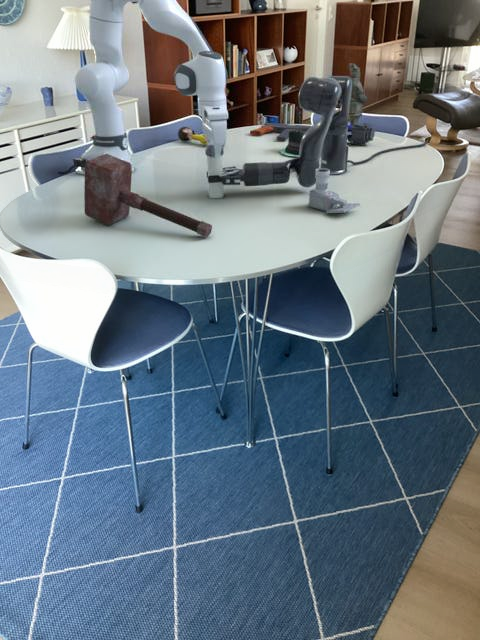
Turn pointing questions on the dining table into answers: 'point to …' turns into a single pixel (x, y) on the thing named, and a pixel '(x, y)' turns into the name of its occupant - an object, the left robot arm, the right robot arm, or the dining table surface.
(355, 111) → the statue
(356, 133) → the toy
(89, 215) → the sledgehammer
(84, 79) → the left robot arm
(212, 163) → the jar
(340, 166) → the right robot arm
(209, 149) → the lid
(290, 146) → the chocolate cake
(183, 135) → the figurine
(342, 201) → the grey foot-shaped piece
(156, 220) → the dining table surface
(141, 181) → the dining table surface
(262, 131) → the submachine gun
